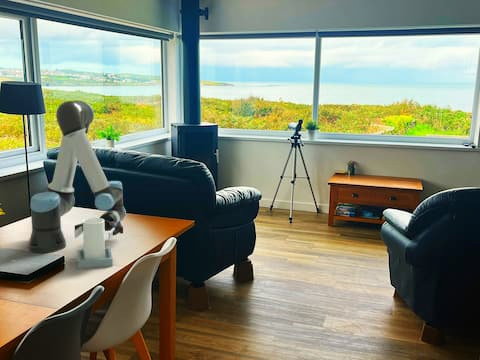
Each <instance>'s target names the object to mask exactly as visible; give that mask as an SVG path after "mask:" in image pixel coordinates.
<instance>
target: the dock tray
mask: <svg viewBox="0 0 480 360" xmlns="http://www.w3.org/2000/svg"><path fill="white" fill-rule="evenodd" d="M113 264H114V263H113V255H112V250H111V248H110V247H105V258H101V259H89V260H84V249H80V250H77V269H90V268H101V267H113Z"/></svg>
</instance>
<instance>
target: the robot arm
mask: <svg viewBox="0 0 480 360" xmlns="http://www.w3.org/2000/svg"><path fill="white" fill-rule="evenodd" d="M94 111H95V110H94V109H93V107H92V106H91V105H90V104H89V103H88V102H86V101H83V100H79V99H78V100H67V101H64V102H62V103H61V104H59V106H58V107H57V110H56V113H55V114H56V115H55V118H56V123H57V124H58V127H59V129H60V132H61V134H62V136H61V140H60V145H59V149H58V154H57V159H56V164H55V168H54V174H53V176H52V177H53V178H52V181H51V182H50V183H48V185H47V187H46V191H45V192H44V191H43V192H38V193H36V194H34V195H33V196H31V198H30V213H31V214H30V216H31V234H30V237H29V240H28V243H27V244H28V250H29V251H30V250H31V252H33V251H37V252H36V253H50V252H56V251H60V250H62V249H65V248H66V246H67V245H66V244H67V242H66V238H65V236H64V233H63V230H62V226H61V225H62V221H61V217H62V216H64V215H66V214H67V213H70V211H71V210H72V208H73V207H74V205H75V203H76V201H75V199H76V198H75V196H74V194H75V188H74V187H73V182H74V178H75V173H76V169H77V165H78V164H79V166H80V168H81V170H82V172H83V175H84V176H85V179H86V180H87V182H88V185H89V187H90V189H91V192H92V193H93V196H94V198H95V199H94V205H95V208H97V209H98V210H99V211H102V212H104V213H103V214H102V215H100V216H99V218H102V219H104V224H105V232H107V233H108V237H107V238H108V240H111V239H112V238H113V237H114V236H117V235H118V234H121V235H123V234H124V227H123V225H122V223H121V222H122V221H123V220H124V218H125V217H126V214H127V211H126V209H125V207H124V199H123V198H124V195H123V189H124V188H123V184H122V181H119V180H110V181H108V179H107V177H106V175H105V173H104V171H103V168H102V166H101V164H100V162H99V160H98V157H97V155H96V153H95V151H94V149H93V147H92V144H91V142H90V139H89V138H88V135H87V134H88V132H89V129H90V125H91V124H92V122H93V121H94V118H95V113H94ZM82 234H83V222H82V223H79V224H75V225H74V238H75V239H76V238H78V237H79V236H81V235H82Z"/></svg>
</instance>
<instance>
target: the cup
mask: <svg viewBox="0 0 480 360" xmlns="http://www.w3.org/2000/svg"><path fill="white" fill-rule="evenodd" d="M82 223H83V232H82V234H83V250H84V260H89V259H101V258H105V248H106V233H105V232H106V231H105V224H104V219H102V218H100V217H90V218H85V219H83V220H82Z"/></svg>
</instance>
